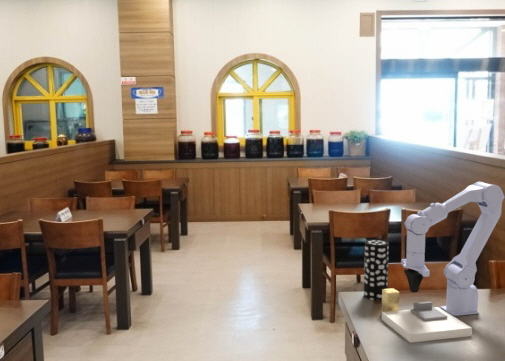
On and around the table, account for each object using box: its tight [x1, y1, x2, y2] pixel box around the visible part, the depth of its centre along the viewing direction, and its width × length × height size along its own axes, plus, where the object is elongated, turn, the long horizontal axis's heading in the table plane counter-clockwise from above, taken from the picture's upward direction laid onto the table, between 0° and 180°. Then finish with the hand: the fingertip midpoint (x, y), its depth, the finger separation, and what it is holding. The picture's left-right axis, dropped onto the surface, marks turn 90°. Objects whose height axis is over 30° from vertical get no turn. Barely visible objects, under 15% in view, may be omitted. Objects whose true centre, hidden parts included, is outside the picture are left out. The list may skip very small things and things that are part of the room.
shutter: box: [410, 301, 447, 321], centre depth 168 cm, size 8×8×3 cm
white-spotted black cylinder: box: [363, 239, 390, 301], centre depth 193 cm, size 8×8×20 cm
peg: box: [381, 287, 400, 313], centre depth 176 cm, size 4×4×8 cm
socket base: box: [381, 306, 473, 343], centre depth 165 cm, size 20×18×2 cm
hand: (414, 291), depth 177 cm, fingers closed
